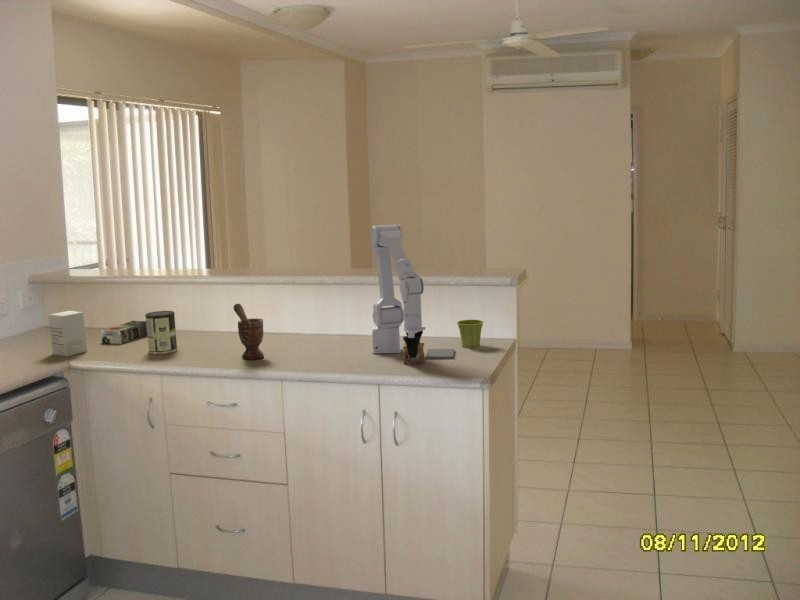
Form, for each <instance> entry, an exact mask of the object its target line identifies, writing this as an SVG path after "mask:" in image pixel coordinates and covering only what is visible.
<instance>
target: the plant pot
mask: <svg viewBox="0 0 800 600" xmlns="http://www.w3.org/2000/svg"><path fill="white" fill-rule="evenodd" d="M456 324H457V325H458V326H457V327H458V329H459V333H460V340H461V346H462V347H465V348H471V349H472V348H475V347H480V344H481V334H482V328H483V324H484V320H481V319H463V320H459V321H457V322H456Z"/></svg>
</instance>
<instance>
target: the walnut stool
mask: <svg viewBox="0 0 800 600" xmlns="http://www.w3.org/2000/svg"><path fill="white" fill-rule="evenodd" d="M424 347H425V342H420V343H419V344H418V350H417V356H418V357H419V365H424V363H425V352H424ZM402 350H403V364H404V365H408V364H409V363H408V362H409V359H410V357H409V353H408V349H407V346H406V343H405V342H404V344H403V345H402ZM417 356H416V357H417Z"/></svg>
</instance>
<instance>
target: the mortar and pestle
mask: <svg viewBox="0 0 800 600" xmlns="http://www.w3.org/2000/svg"><path fill="white" fill-rule="evenodd" d="M233 310H234V313H235V314H236V315H237V316H238V317H239V319H240V320H238V321H237V330H238V337H239V339H240V342H241V343H240V344H242V345H243V346H244V347H245V350H244V351H243V353H242V354H241V359H244V360H248V361H252V360H253V361H254V360H259V359H263V358H264V356H265V355H264V352H263V351H262V350H260V345H261V344H262V343H263V338H264V319H263V318H257V317H256V318H248V317H247V315H246V312H245V310H244V307H243V306H242V304H240V303H235V304H234V305H233Z"/></svg>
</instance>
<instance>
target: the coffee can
mask: <svg viewBox="0 0 800 600" xmlns="http://www.w3.org/2000/svg"><path fill="white" fill-rule="evenodd" d="M175 314H176V313H175V311H173V310H159V311H150V312H147V313H145V315H144V316H145V321H146V325H147V336H146V337H147V344H148V345H147V346H148V353H149V354H152V355H153V354H154V355H165V354H170V353H174V352H176V351H178V345H177V333H176V319H175Z"/></svg>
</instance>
